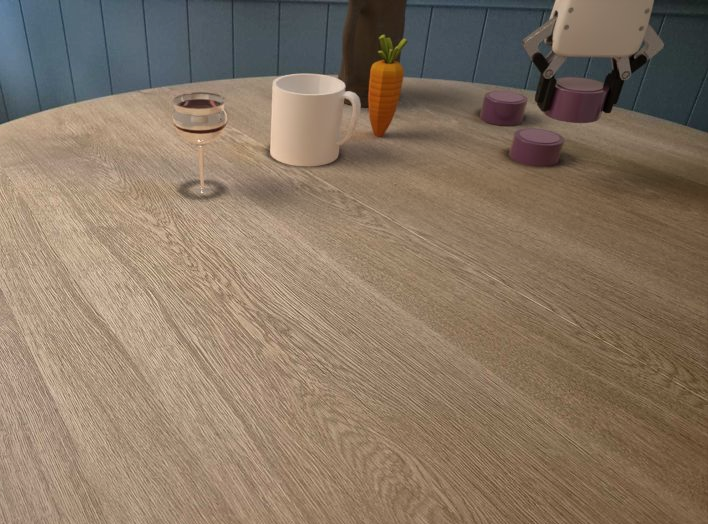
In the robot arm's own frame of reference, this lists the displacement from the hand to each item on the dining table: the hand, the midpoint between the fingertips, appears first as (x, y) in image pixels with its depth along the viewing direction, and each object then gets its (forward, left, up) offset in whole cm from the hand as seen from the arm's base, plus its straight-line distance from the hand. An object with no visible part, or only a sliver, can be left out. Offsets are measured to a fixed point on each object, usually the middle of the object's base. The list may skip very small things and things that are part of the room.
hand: (573, 107), depth 84 cm
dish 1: (+1, -26, -10) cm, 28 cm away
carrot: (+22, -14, -10) cm, 28 cm away
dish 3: (0, 0, -1) cm, 1 cm away
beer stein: (+24, -32, -10) cm, 42 cm away
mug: (+32, -5, -10) cm, 34 cm away
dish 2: (0, -8, -10) cm, 13 cm away
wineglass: (+46, +9, -10) cm, 48 cm away
